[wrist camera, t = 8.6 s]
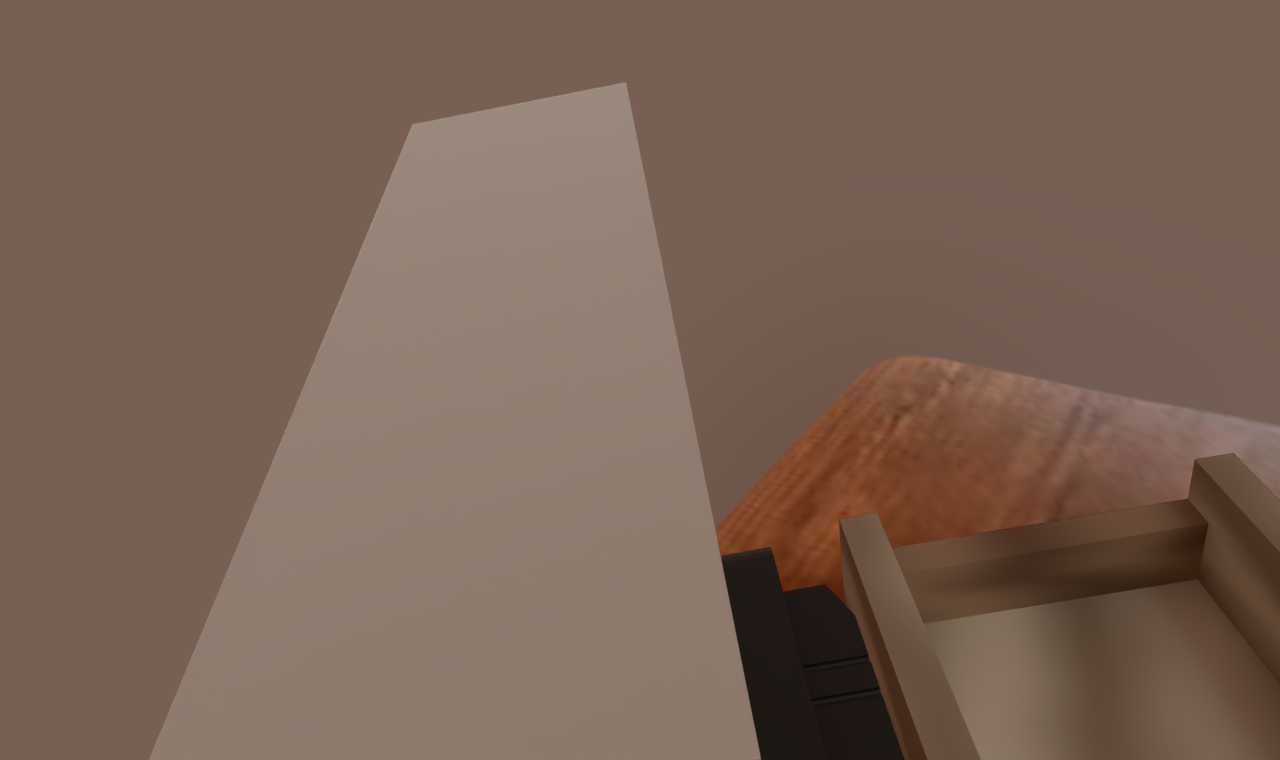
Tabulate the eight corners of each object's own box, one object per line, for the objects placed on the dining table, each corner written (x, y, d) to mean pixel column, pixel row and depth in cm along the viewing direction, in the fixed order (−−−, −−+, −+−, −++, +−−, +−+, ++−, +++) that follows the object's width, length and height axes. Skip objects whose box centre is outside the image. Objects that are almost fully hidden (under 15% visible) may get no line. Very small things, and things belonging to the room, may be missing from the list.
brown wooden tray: (1209, 569, 33) (1233, 452, 30) (1628, 1089, 20) (1733, 963, 17) (846, 629, 34) (839, 518, 31) (1026, 1177, 20) (1040, 1067, 18)
